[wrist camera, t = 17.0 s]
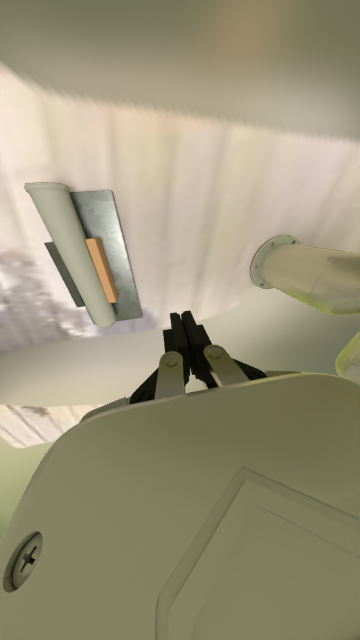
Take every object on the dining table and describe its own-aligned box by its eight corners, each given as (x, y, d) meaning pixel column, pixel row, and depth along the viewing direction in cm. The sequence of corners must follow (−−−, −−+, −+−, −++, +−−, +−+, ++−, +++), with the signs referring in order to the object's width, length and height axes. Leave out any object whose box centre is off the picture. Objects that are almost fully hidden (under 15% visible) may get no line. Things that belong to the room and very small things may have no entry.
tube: (121, 327, 34) (65, 182, 20) (96, 335, 32) (16, 181, 18) (118, 317, 38) (69, 189, 24) (95, 324, 36) (29, 190, 22)
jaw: (99, 237, 27) (94, 238, 25) (118, 296, 34) (116, 302, 31) (91, 238, 27) (85, 239, 25) (111, 297, 34) (108, 303, 31)
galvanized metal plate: (112, 191, 25) (105, 186, 22) (142, 314, 39) (141, 324, 35) (37, 196, 24) (17, 190, 20) (95, 321, 38) (89, 331, 34)
